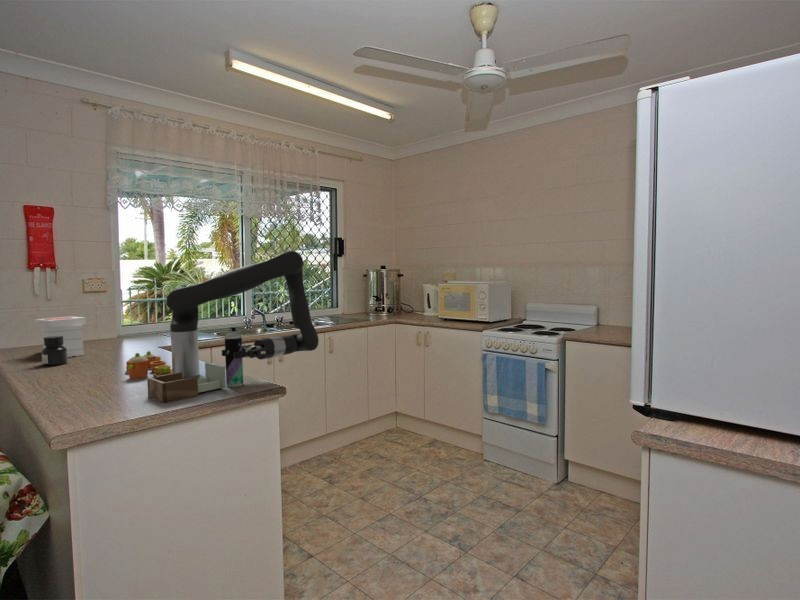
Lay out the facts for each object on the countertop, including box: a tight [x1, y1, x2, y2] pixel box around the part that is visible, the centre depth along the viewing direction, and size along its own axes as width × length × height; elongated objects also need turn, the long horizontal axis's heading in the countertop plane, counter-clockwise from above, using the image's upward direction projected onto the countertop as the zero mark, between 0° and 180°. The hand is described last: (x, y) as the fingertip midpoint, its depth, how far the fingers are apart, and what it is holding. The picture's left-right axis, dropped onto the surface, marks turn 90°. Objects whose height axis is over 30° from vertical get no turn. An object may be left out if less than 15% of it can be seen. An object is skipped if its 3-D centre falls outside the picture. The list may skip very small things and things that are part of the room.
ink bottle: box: [41, 336, 69, 367], centre depth 201 cm, size 10×9×12 cm
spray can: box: [224, 327, 244, 388], centre depth 159 cm, size 6×6×20 cm
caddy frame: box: [146, 372, 199, 404], centre depth 146 cm, size 12×10×6 cm
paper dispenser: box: [34, 315, 87, 358], centre depth 226 cm, size 19×30×18 cm, turn 39°
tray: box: [198, 361, 227, 394], centre depth 153 cm, size 12×10×7 cm
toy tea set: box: [125, 350, 173, 380], centre depth 181 cm, size 26×16×10 cm, turn 37°
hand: (228, 354), depth 157 cm, fingers open, 7 cm apart
